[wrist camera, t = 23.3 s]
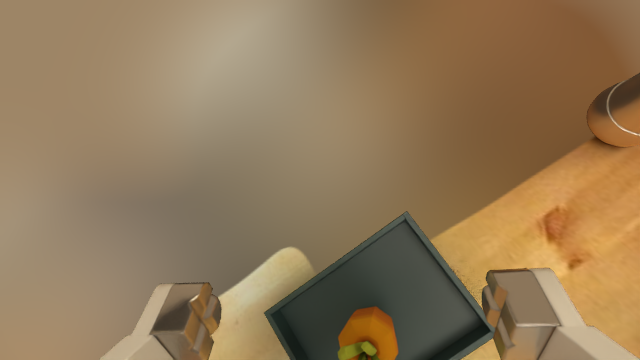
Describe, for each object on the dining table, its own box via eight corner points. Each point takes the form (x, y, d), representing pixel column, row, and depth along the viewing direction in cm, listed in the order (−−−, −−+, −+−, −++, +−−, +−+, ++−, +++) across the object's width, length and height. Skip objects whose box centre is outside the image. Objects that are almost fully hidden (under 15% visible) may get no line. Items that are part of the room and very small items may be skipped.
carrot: (407, 325, 36) (414, 382, 22) (369, 350, 37) (352, 422, 22) (380, 285, 38) (370, 313, 23) (344, 309, 38) (312, 352, 24)
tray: (342, 422, 37) (336, 441, 33) (274, 306, 40) (263, 313, 37) (490, 324, 35) (500, 333, 32) (405, 213, 39) (406, 211, 35)
